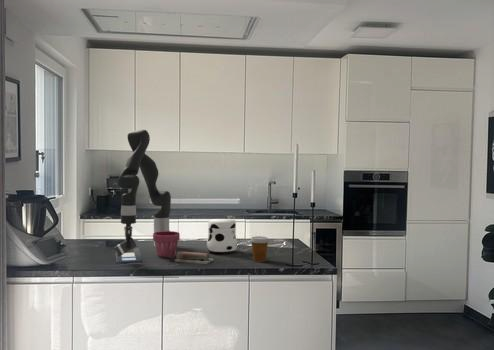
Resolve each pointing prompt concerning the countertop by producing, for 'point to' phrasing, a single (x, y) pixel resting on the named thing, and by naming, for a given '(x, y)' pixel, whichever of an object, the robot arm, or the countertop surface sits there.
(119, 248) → the charcoal rectangular prism
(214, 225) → the milk container
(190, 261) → the packaged product
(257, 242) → the disposable coffee cup
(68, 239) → the countertop surface
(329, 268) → the countertop surface
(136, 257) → the white pegged board
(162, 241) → the plant pot
